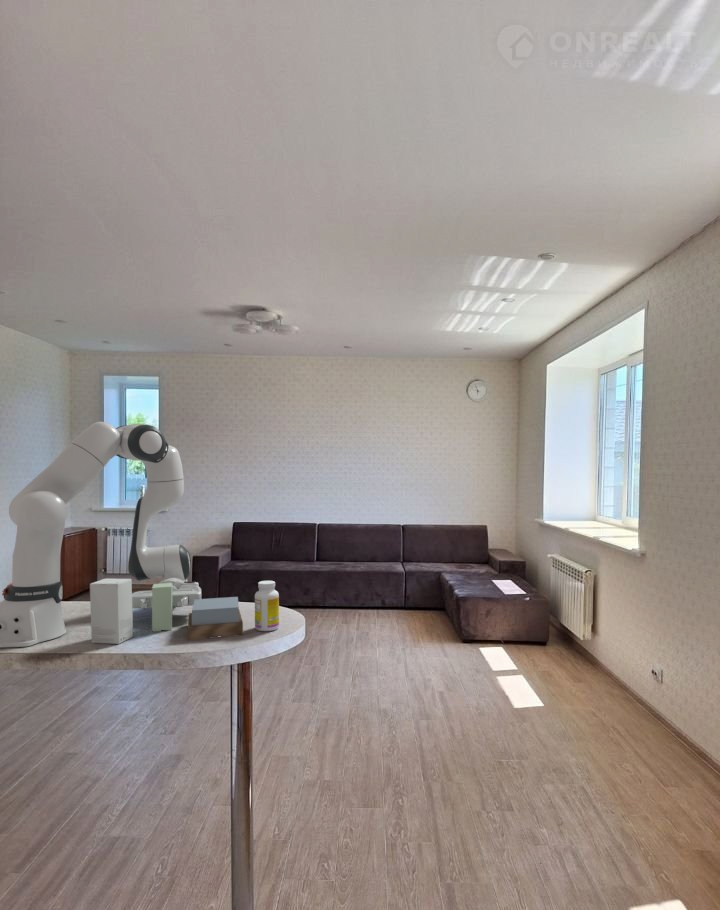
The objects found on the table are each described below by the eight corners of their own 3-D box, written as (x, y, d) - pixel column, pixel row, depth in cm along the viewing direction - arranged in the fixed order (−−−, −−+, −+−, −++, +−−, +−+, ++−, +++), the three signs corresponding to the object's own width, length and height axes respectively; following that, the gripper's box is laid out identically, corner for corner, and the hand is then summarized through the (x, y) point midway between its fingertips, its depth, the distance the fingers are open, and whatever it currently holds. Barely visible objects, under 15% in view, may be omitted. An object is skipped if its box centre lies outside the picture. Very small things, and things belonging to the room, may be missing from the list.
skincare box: (133, 637, 142) (134, 578, 142) (117, 645, 135) (117, 583, 136) (106, 635, 144) (106, 577, 144) (88, 643, 137) (89, 582, 138)
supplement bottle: (281, 625, 152) (281, 579, 152) (275, 632, 145) (275, 585, 146) (258, 624, 153) (258, 579, 153) (251, 631, 146) (251, 584, 147)
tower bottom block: (187, 642, 139) (188, 627, 139) (188, 627, 153) (188, 613, 153) (242, 637, 143) (242, 622, 144) (238, 622, 157) (238, 609, 157)
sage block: (152, 631, 147) (152, 587, 147) (153, 626, 151) (153, 584, 152) (171, 630, 148) (171, 586, 148) (172, 625, 153) (172, 582, 153)
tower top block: (191, 625, 141) (191, 610, 141) (194, 613, 152) (194, 599, 152) (238, 622, 144) (238, 607, 144) (237, 610, 155) (237, 596, 155)
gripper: (133, 585, 161) (122, 595, 148) (203, 581, 165) (199, 592, 152) (132, 606, 161) (122, 618, 148) (203, 602, 165) (199, 614, 152)
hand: (162, 605), depth 150 cm, fingers open, 8 cm apart
